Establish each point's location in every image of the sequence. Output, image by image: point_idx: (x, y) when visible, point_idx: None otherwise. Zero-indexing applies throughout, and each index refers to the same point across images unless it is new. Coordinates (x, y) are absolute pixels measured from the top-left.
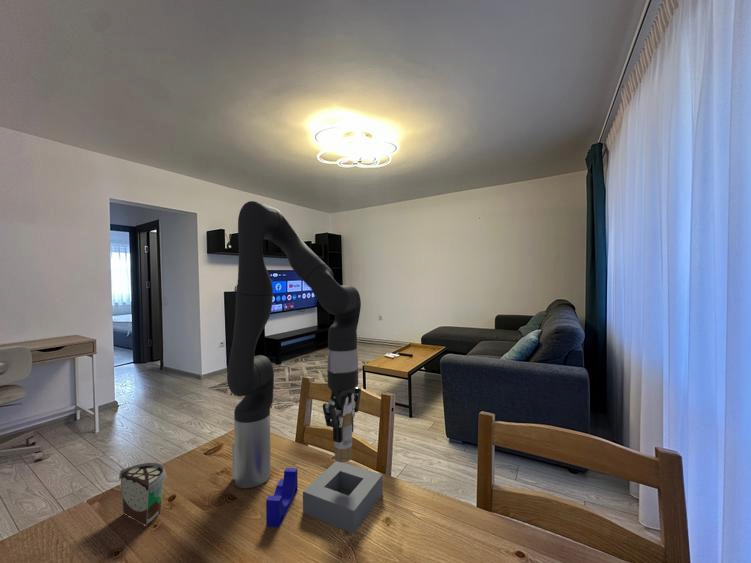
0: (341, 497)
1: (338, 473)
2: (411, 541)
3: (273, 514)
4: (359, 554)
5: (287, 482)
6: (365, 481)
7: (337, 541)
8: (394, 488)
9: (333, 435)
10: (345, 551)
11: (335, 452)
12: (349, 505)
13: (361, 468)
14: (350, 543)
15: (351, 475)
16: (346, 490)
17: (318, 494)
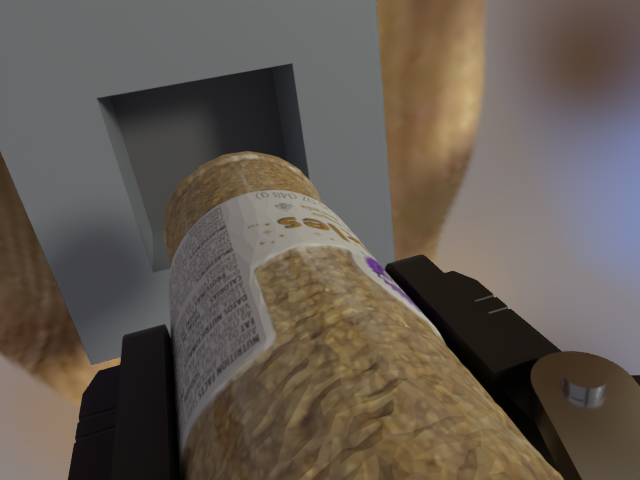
0: (112, 254)
1: (271, 65)
2: None
3: None
4: (49, 377)
5: None
6: None
7: (19, 283)
8: (414, 250)
9: (80, 434)
10: (13, 337)
11: (172, 235)
12: (102, 324)
13: (384, 159)
14: (57, 324)
15: (304, 150)
16: (268, 104)
17: (17, 126)
